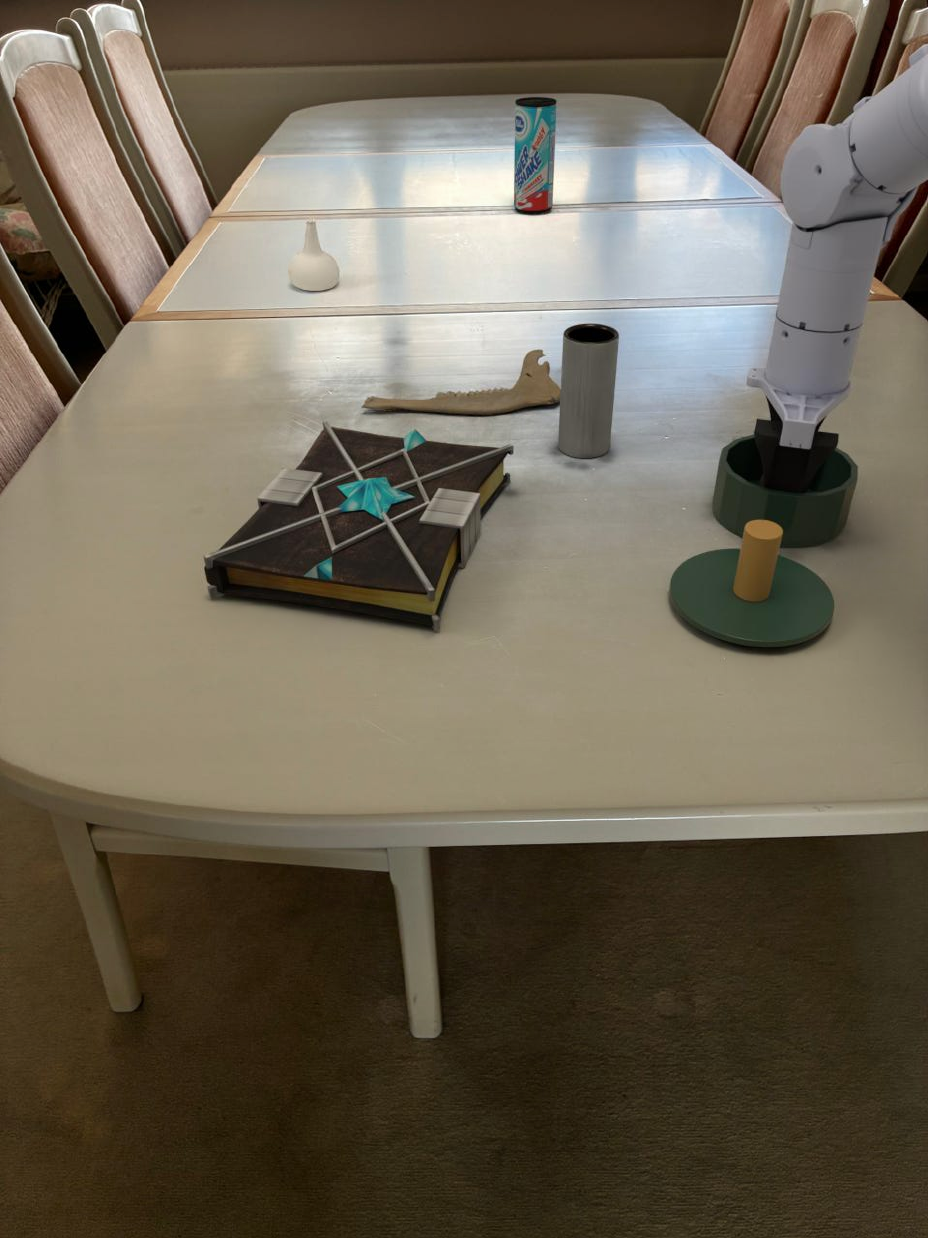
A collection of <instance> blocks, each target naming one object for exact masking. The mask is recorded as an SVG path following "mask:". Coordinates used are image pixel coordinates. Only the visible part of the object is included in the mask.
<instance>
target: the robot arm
mask: <svg viewBox="0 0 928 1238" xmlns="http://www.w3.org/2000/svg"><path fill="white" fill-rule="evenodd" d="M908 62H909V68H907V69H906V70H905V71H904V72H903V73H901V74H900V75H899V76H898V77H896V78H895V79H894V80H893V81H891V82H889V84H888V85H886V86H885V87H883V89H881V90H880V91H879V92H878V93H876V94H875V95H874V96H873V95H872V96H865V97H863V98H862V99H860V100H859V101H857V102H856V104H854V105H853V112H852V113H851V114H850V115H848V116H847V117H846V118H845V119H844V120H843V122H842V123H837V124H836V125H831V124H828V123H816V124H810V125H807V126H805V127H804V128H803V129H802V131H801V132H800V134H799V135H798V136H797V137H796V138H795V140H794V141H793V142H792V143H791V144H790V146H789V148H788V150H787V152H786V154H785V157H784V161H783V164H782V168H781V173H780V174H781V175H780V195H781V200H782V205H783V208H784V210H785V213H786V214H787V216H788V217H789V219H790V220H791V222H792V224H791V230H790V234H789V240H788V245H787V251H786V258H785V263H784V269H783V273H782V279H781V284H780V290H779V295H778V296H779V297H778V301H777V307H776V311H775V312H776V313H775V318H774V322H773V328H772V334H771V339H770V345H769V350H768V356H767V361H766V367H765V368H762V367H752V368H749V369H748V373H747V378H746V385H747V386H748V387H750V388H758V389H760V390H762V392H763V394H764V395H765V399H766V402H767V406H768V410H769V416H770V419H762V418H757V419H756V422H755V426H754V431H753V434H754V437H755V442H756V445H757V447H758V449H759V452H760V455H761V459H762V464H763V474H764V488H767V489H770V490H776V491H783V492H790V493H805V492H806V490H807V487H808V485H809V483H810V481H811V479H812V478H813V476H814V474H815V473H816V471H817V470H818V468H819V467H820V466H821V464H822V463H823V462H824V461H825V460H826V459H827V458H828V457H829V456H830V455H831V454H832V453H833V452H834V450H835V449H836V448H838V445H839V436H840V434H839V433H838V432H837V433H836V432H829V431H820V428H821V426H822V424H823V423H824V421H825V419H827V416H828V415H830V413H832V412H833V411H834V410H835V409H836V408H837V407H838V406H839V405H840V404H842V403H843V402H844V401H845V400H847V398H848V397H849V395H850V390H851V386H852V382H851V380H850V378H851V374H852V370H853V365H854V361H855V356H856V352H857V349H858V344H859V340H860V335H861V333H862V329H863V328H862V327H863V324H864V319H865V315H866V310H867V306H868V301H869V298H870V293H871V288H872V285H873V281H874V277H875V273H876V268H877V264H878V261H879V257H880V253H881V250H882V249H883V248H884V247H886V245H887V243H888V242H890V241H891V239H892V235H893V230H894V227H895V225H896V222H897V221H898V218H899V217H900V215H902V214H903V212H905V211H906V210H907V208H908V207H909V206H910V205H911V203H912V202H913V200H914V198H915V196H916V194H917V191H918V189H919V186H920V185H922V184H923V183H925V182H926V181H928V43H925V44H922V46H920V47H919V48H918V49H917V50H915V51H914V52H913V53H911V54H910V55H909V57H908Z"/></svg>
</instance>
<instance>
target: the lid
mask: <svg viewBox="0 0 928 1238" xmlns="http://www.w3.org/2000/svg"><path fill="white" fill-rule="evenodd" d="M782 535H783V530H782V528H781V527H780V526H779V525H778V524H776V523H774V522H771V521H768V520H753V521H750V522H748V523H747V524H746V525H745V528H744V533H743V537H742V539H741V544H740V548H721V549H714V550H708V551H705V552H702V553H699V554H698V553H697V554H696V555H693V556H692V557H690V558H688V559H685V561H683V562H682V563H681V564H680V565H679V566H677V567H676V569H675V570H674V571H673V573H672V575H671V578H670V582H669V597H670V601H671V602H672V606H673V607H674V609H675V610H676V611H677V612H678V614H679V615H680V617H682V618H683V619H684V620H685V621H686V622H687V623H688V624H690V625H691V626H693V627H694V628H696V629H697V630H699V631H701V632H703V633H705V634H707V635H709V636H711V637H714V638H716V639H719V640H722V641H725V642H728V643H731V644H737V645H742V646H747V647H757V648H779V647H788V646H794V645H798V644H801V643H805V642H807V641H809V640H812V639H813V638H816V636H818V635H820V634H821V633H822V632H823V631H824V630H826V628H827V627H828V626H829V625H830V623H831V621H832V619H833V615H834V612H835V599H834V595H833V593H832V591H831V589H830V588H829V586H828V585H827V583H826V582H825V581H824V580H823V578H821V577H820V576H819V575H818V574H817V573H815V571H813V570H812V569H810V568H808V567H807V566H805V565H803V564H801V563H800V562H797V561H795V560H793V559H791V558H788V557H785V556H782V555H779V553H780V548H781V547H780V544H781V539H782Z"/></svg>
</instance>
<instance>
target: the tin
mask: <svg viewBox="0 0 928 1238" xmlns="http://www.w3.org/2000/svg"><path fill="white" fill-rule="evenodd" d="M762 475H763V464H762V459H761V455H760V452H759V449H758V447H757V445H756V442H755V437H754V433H753V434H749V435H746V436H743V437H742V436H741V437H739V438H738V437H737V438H735V439H733V440H731V442H729V443H728V444H726V445H725V446H724V447H722V448H721V452H720V456H719V460H718V466H717V472H716V478H715V485H714V491H713V496H712V503H711V504H712V506H711V507H712V513H713V515H714V518H715V519H716V520H717V521H718V522H719V523H720V525H721V526H722V527H724V528H725V529H726V530H728V531H729V532H731V533H733V534H735V535H736V536H738V537H740V538H743V533H744V528H745V525H746V524H747V523H748V522H750V521H753V520H768V521H771V522H774V523H776V524H778V525H779V526H780V527H781V528H782V530H783V535H782V539H781V544H780V548H793V549H795V548H807V547H815V546H819V545H822V544H826V543H828V542H830V541H832V540H834V539H835V538H836V537H838V536H839V535H840V534H841V533H842V531H843V529H844V527H846V524H847V521H848V517H849V513H850V509H851V506H852V502H853V498H854V495H855V490H856V486H857V483H858V479H859V466H858V464H857V463H856V462H855V461H854V460H853V458H852V457H851V456H850V455H849V454H848V453H846V452H845V451H844V450H842V449H840V448H838V447H836V449H835V450H834V452H833V453H832V454H831V455H830V456H829V457H828V458H827V459H826V460H825V461H824V462H823V463H822V464H821V466H820V467H819V468H818V470H817V471H816V473H815V474H814V476H813V478H812V479H811V481H810V483H809V485H808V487H807V492H806V493H790V492H783V491H776V490H770V489H767V488H764V487H762V486H759V485H758V484H759V481H760V478H761V477H762Z"/></svg>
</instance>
